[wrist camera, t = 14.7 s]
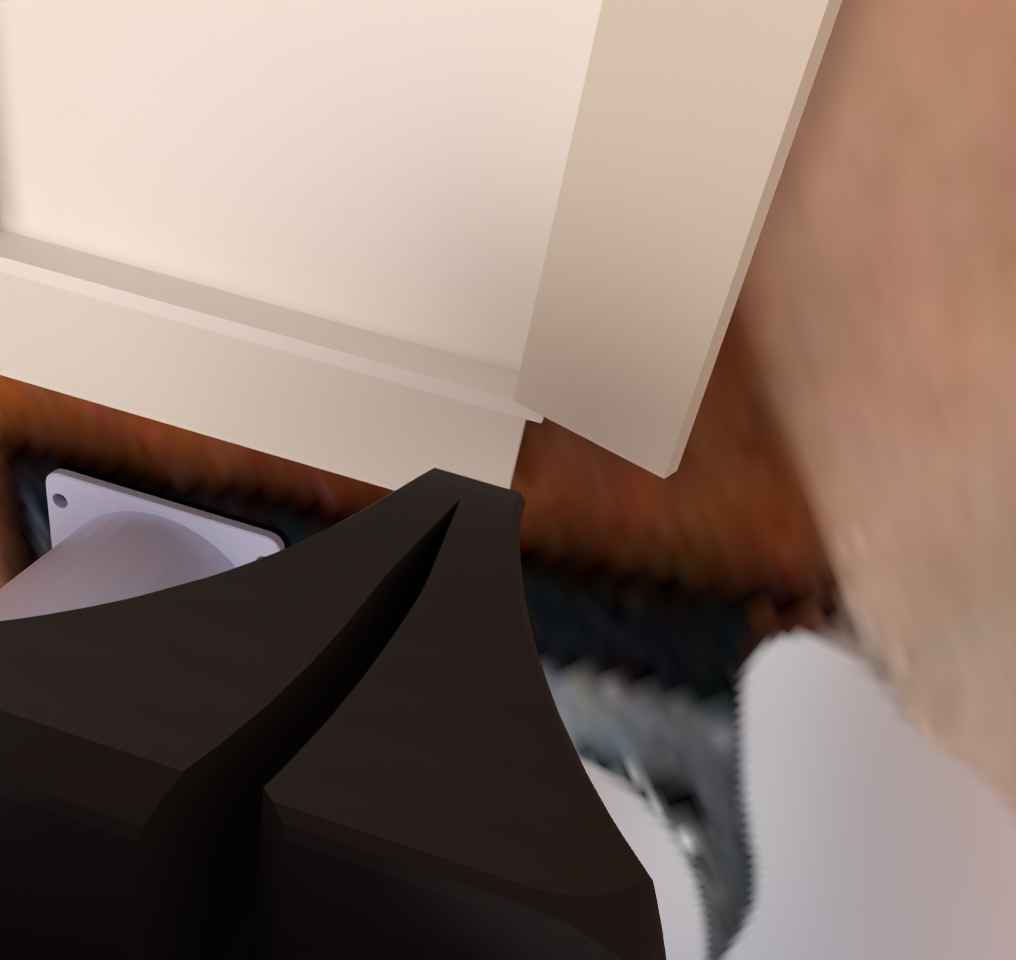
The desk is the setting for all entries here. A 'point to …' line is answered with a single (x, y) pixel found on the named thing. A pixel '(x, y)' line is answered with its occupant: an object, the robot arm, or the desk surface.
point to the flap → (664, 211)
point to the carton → (288, 217)
